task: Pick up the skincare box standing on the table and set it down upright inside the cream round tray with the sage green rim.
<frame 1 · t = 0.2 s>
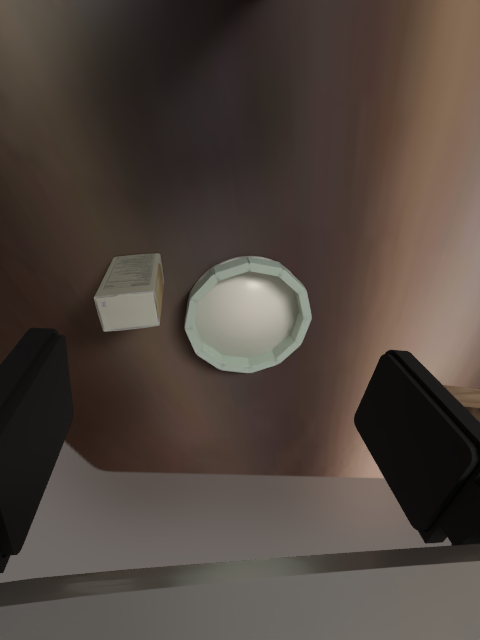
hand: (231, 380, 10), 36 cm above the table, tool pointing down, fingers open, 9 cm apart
wooden display box: (432, 413, 69), on the table
skincare box: (141, 268, 45), on the table
round tray: (246, 311, 51), on the table
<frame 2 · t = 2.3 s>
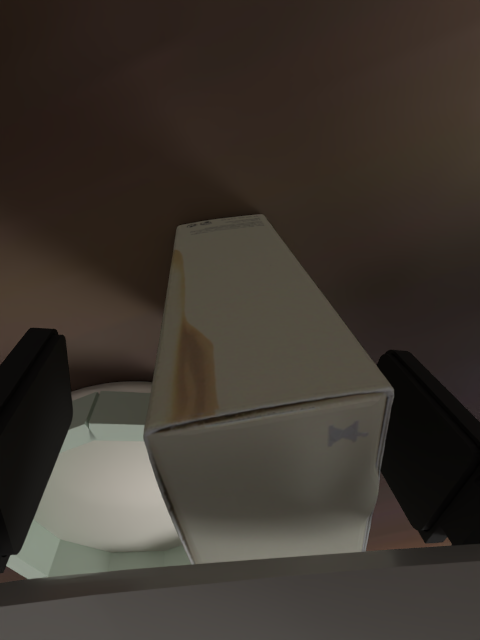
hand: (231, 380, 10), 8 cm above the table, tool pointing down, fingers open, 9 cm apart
skincare box: (228, 278, 17), on the table
round tray: (142, 478, 24), on the table
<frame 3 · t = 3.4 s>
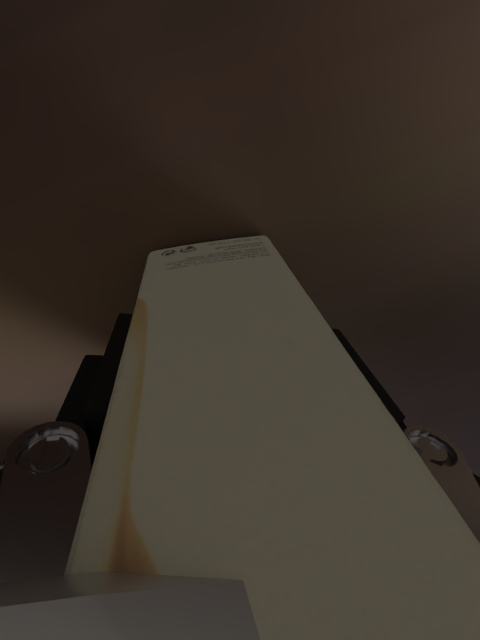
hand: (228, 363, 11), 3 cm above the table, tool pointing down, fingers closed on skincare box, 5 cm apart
skincare box: (220, 316, 13), on the table, touching gripper
when the fingers open (5 cm above the table, at t = 9.7 s): skincare box drops 2 cm, resting on round tray.
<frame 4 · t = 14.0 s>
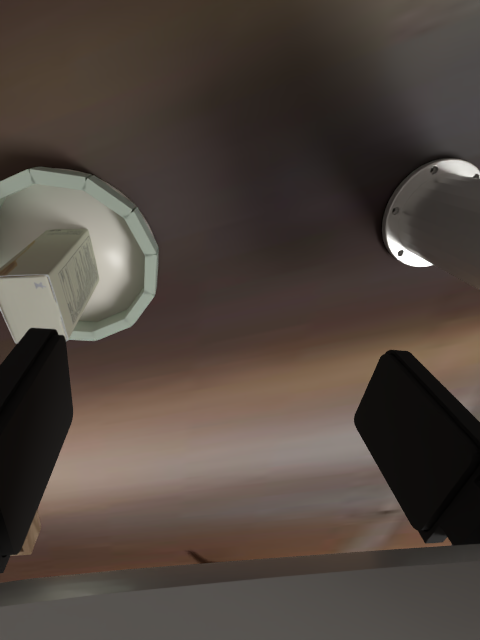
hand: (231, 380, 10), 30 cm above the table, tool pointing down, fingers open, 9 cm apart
skincare box: (75, 257, 36), point 1 cm above the table, touching round tray
round tray: (76, 256, 37), on the table
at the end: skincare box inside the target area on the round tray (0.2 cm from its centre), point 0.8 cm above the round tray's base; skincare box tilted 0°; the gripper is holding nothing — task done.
